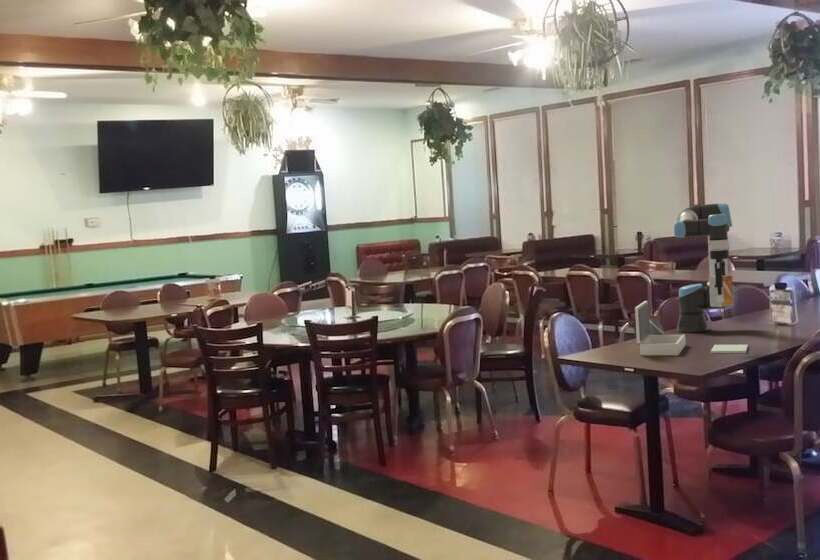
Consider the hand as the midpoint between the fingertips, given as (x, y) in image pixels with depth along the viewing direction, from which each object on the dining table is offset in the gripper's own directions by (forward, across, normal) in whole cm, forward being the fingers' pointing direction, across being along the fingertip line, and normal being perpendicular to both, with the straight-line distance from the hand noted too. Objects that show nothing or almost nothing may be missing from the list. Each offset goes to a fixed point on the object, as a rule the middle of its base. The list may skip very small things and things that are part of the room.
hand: (721, 300), depth 360 cm
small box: (+2, 0, 0) cm, 2 cm away
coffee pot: (+22, -23, -32) cm, 45 cm away
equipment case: (+22, 0, -26) cm, 34 cm away
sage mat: (+22, 0, +2) cm, 22 cm away
